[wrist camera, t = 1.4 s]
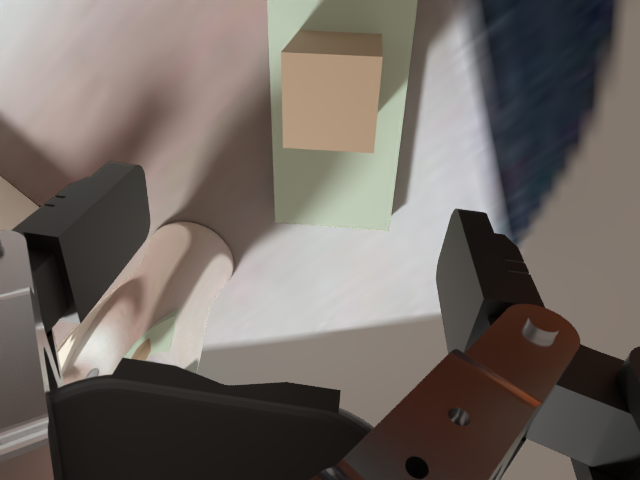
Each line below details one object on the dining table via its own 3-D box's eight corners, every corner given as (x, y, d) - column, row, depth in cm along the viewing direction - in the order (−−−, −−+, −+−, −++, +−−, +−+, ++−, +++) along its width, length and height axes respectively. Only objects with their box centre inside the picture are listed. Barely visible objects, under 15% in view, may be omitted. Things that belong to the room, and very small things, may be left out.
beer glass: (126, 224, 32) (-36, 410, 20) (218, 206, 30) (107, 396, 18) (168, 301, 36) (55, 500, 23) (253, 288, 34) (181, 495, 22)
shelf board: (271, -152, 20) (228, -186, 15) (432, -150, 20) (454, -184, 14) (280, 206, 30) (257, 271, 25) (388, 214, 30) (391, 282, 24)
